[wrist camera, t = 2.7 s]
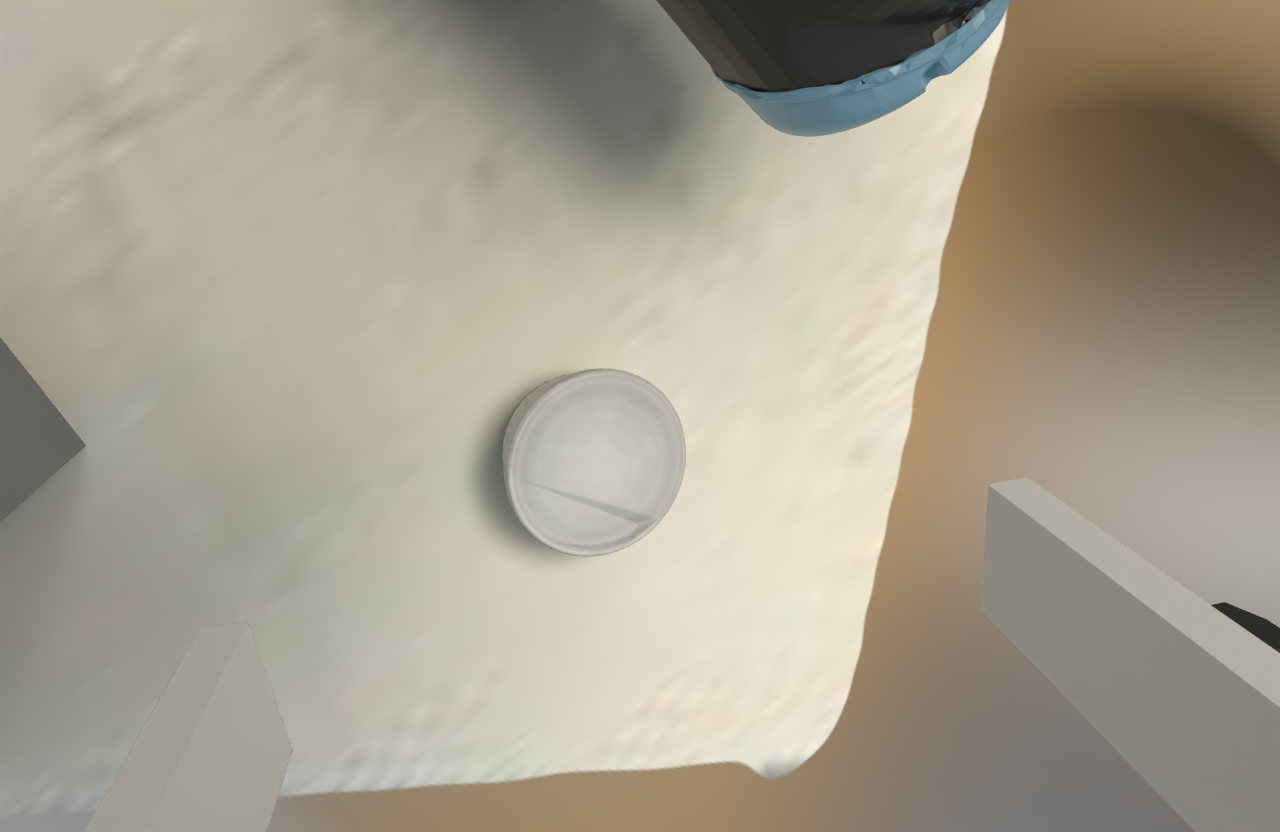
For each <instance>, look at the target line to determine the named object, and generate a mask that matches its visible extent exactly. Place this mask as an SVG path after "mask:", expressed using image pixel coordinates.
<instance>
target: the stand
mask: <svg viewBox="0 0 1280 832" xmlns="http://www.w3.org/2000/svg"><path fill="white" fill-rule="evenodd" d="M84 447H85V444H84V443H83V442H82V440H81V439H80V438H79V437H78V435H77V434H76V433H75V432H74V430H73V429H72V428H71V427H70V425H69V424H68V423H67V421H66V420H65V419H64V418H63V416H62V415H61V414H60V413H59V411H58V410H57V409H56V408H55V406H54V405H53V404H52V403H51V401H50V400H49V399H48V397H47V396H46V395H45V394H44V392H43V391H42V390H41V389H40V387H39V386H38V385H37V384H36V382H35V381H34V380H33V378H32V377H31V376H30V375H29V373H28V372H27V371H26V370H25V368H24V367H23V366H22V365H21V363H20V362H19V361H18V360H17V358H16V357H15V356H14V354H13V353H12V352H11V351H10V349H9V348H8V347H7V346H6V344H5V343H4V342H3V341H2V339H1V338H0V521H1V520H2V519H4V518H5V517H6V516H7V515H8V514H9V513H10V512H11V511H13V510H14V509H15V508H16V507H17V506H18V505H19V504H20V503H22V502H23V501H24V500H25V499H26V498H27V497H28V496H29V495H31V494H32V493H33V492H34V491H35V490H36V489H37V488H39V487H40V486H41V485H42V484H43V483H44V482H45V481H46V480H48V479H49V478H50V477H51V476H52V475H53V474H54V473H55V472H57V471H58V470H59V469H60V468H61V467H62V466H63V465H64V464H66V463H67V462H68V461H69V460H70V459H71V458H72V457H73V456H75V455H76V454H77V453H78V452H79V451H80V450H81V449H82V448H84Z"/></svg>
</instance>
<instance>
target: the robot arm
mask: <svg viewBox="0 0 1280 832" xmlns="http://www.w3.org/2000/svg"><path fill="white" fill-rule="evenodd" d="M656 1H657V2H658V3H659V4H660V5H661V7H662V8H663V9H664V10H665V11H666V13H667V14H668V15H669V16H670V17H671V19H672V20H673V21H674V22H675V23H676V25H677V26H678V27H679V28H680V29H681V31H682V32H683V33H684V34H685V35H686V37H687V38H688V39H689V40H690V41H691V43H692V44H693V45H694V46H695V47H696V49H697V50H698V51H699V52H700V53H701V55H702V56H703V57H704V58H705V59H706V61H707V62H708V63H709V64H710V65H711V68H712V70H713V72H714V74H715V76H716V77H717V78H718V80H720V81H722V82H723V84H724V85H725V87H727V88H728V89H730V90H732V91H733V92H735V93H737V94H739V96H740V97H741V98H742V99H743V100H744V101H745V102H746V103H747V104H748V105H749V106H750V107H751V108H752V109H753V110H754V111H755V112H756V113H757V114H758V115H759V116H760V118H761V119H762V120H763V121H764V122H766V123H767V124H768V125H770V126H771V127H773V128H775V129H776V130H779V131H781V132H783V133H787V134H791V135H796V136H806V137H809V136H823V135H829V134H834V133H838V132H842V131H846V130H849V129H852V128H855V127H858V126H861V125H864V124H866V123H869V122H871V121H873V120H875V119H878V118H880V117H883V116H885V115H887V114H889V113H891V112H893V111H895V110H896V109H898V108H900V107H902V106H903V105H905V104H907V103H909V102H910V101H912V100H913V99H915V98H917V97H918V96H920V95H921V94H923V93H924V92H925V90H926V85H927V84H928V83H929V82H930V81H931V79H934V78H936V77H939V76H941V75H947V74H951V73H952V72H953V71H954V70H955V69H956V68H958V67H959V66H960V65H961V64H962V63H964V62H965V61H966V60H967V59H968V58H969V57H970V56H971V55H973V54H974V52H975V51H976V50H977V49H978V48H979V47H980V46H981V45H982V44H983V43H984V42H985V41H986V39H987V38H988V37H989V36H990V35H991V33H992V32H993V31H994V30H995V28H996V27H997V26H998V24H999V23H1000V21H1001V19H1002V18H1003V15H1004V13H1005V11H1006V9H1007V7H1008V4H1009V2H1010V0H656ZM984 552H985V553H984V569H983V585H982V602H981V603H982V604H981V610H982V611H983V612H984V613H985V614H986V615H987V616H988V617H989V618H990V619H991V620H992V621H993V622H994V624H995V625H997V627H998V628H999V629H1000V630H1001V631H1002V632H1003V633H1004V634H1005V635H1006V636H1007V637H1008V638H1009V639H1010V640H1011V641H1012V642H1013V643H1014V644H1015V645H1016V646H1017V647H1018V648H1019V649H1020V650H1021V651H1022V652H1023V654H1024V655H1025V656H1027V658H1028V659H1029V660H1030V661H1031V662H1032V663H1033V664H1034V665H1035V666H1036V667H1037V668H1038V669H1039V670H1040V671H1041V672H1042V673H1043V674H1044V675H1045V676H1046V677H1047V678H1048V679H1049V680H1050V681H1051V682H1052V683H1053V685H1054V686H1055V687H1056V688H1057V689H1058V690H1059V691H1060V692H1061V693H1062V694H1063V695H1064V696H1065V697H1066V698H1067V699H1068V700H1069V701H1070V702H1071V703H1072V704H1073V705H1074V706H1075V707H1076V708H1077V709H1078V710H1079V711H1080V712H1081V713H1082V715H1084V716H1085V718H1086V719H1087V720H1088V721H1089V722H1090V723H1091V724H1092V725H1093V726H1094V727H1095V728H1096V729H1097V730H1098V731H1099V732H1100V733H1101V734H1102V735H1103V736H1104V737H1105V738H1106V739H1107V740H1108V741H1109V742H1110V743H1111V744H1112V745H1113V746H1114V747H1115V749H1116V750H1117V751H1118V752H1119V753H1120V754H1121V755H1122V756H1123V757H1124V758H1125V759H1126V760H1127V761H1128V762H1129V763H1130V764H1131V765H1132V766H1133V767H1134V768H1135V769H1136V770H1137V771H1138V772H1139V773H1140V774H1141V775H1142V777H1143V778H1144V779H1145V780H1146V781H1147V782H1148V783H1149V784H1150V785H1151V786H1152V787H1153V788H1154V789H1155V790H1156V791H1157V792H1158V793H1159V794H1160V795H1161V796H1162V797H1163V798H1164V799H1165V800H1166V801H1167V802H1168V803H1169V804H1170V805H1171V806H1172V808H1173V809H1175V811H1176V812H1177V813H1178V814H1179V815H1180V816H1181V817H1182V818H1183V819H1184V820H1185V821H1186V822H1187V823H1188V824H1189V825H1190V826H1191V827H1192V828H1193V829H1194V830H1195V831H1196V832H1280V628H1279V627H1277V626H1276V625H1274V624H1273V623H1271V622H1270V621H1268V620H1266V619H1264V618H1262V617H1259V616H1256V615H1254V614H1252V613H1249V612H1247V611H1245V610H1242V609H1239V608H1237V607H1235V606H1233V605H1230V604H1228V603H1225V602H1224V603H1219V604H1214V605H1210V604H1208V603H1207V602H1205V601H1204V600H1203V599H1201V598H1200V597H1198V596H1196V595H1195V594H1194V593H1192V592H1191V591H1190V590H1188V589H1187V588H1185V587H1184V586H1182V585H1181V584H1179V583H1178V582H1177V581H1175V580H1174V579H1172V578H1171V577H1169V576H1168V575H1167V574H1165V573H1164V572H1162V571H1161V570H1159V569H1158V568H1156V567H1155V566H1153V565H1152V564H1150V563H1149V562H1148V561H1146V560H1145V559H1143V558H1142V557H1141V556H1139V555H1138V554H1136V553H1135V552H1133V551H1132V550H1130V549H1129V548H1127V547H1126V546H1125V545H1123V544H1122V543H1120V542H1119V541H1118V540H1116V539H1115V538H1113V537H1112V536H1110V535H1109V534H1108V533H1106V532H1105V531H1103V530H1102V529H1100V528H1099V527H1097V526H1096V525H1095V524H1093V523H1092V522H1090V521H1089V520H1087V519H1086V518H1084V517H1083V516H1082V515H1080V514H1079V513H1077V512H1076V511H1074V510H1073V509H1072V508H1070V507H1069V506H1067V505H1066V504H1064V503H1063V502H1061V501H1060V500H1059V499H1057V498H1056V497H1054V496H1053V495H1051V494H1050V493H1048V492H1047V491H1046V490H1044V489H1043V488H1041V487H1040V486H1039V485H1037V484H1036V483H1034V482H1033V481H1031V480H1030V479H1028V478H1022V479H1016V480H1011V481H1005V482H1000V483H994V484H989V485H988V501H987V517H986V534H985V551H984ZM292 750H293V748H292V745H291V742H290V739H289V736H288V733H287V730H286V728H285V725H284V722H283V719H282V716H281V713H280V711H279V708H278V705H277V702H276V699H275V696H274V693H273V691H272V688H271V685H270V682H269V679H268V676H267V673H266V671H265V668H264V665H263V662H262V659H261V656H260V654H259V651H258V648H257V645H256V642H255V639H254V636H253V634H252V631H251V628H250V625H249V622H248V621H243V622H237V623H232V624H227V625H221V626H216V627H210V628H205V629H200V630H199V631H198V633H197V635H196V637H195V638H194V640H193V642H192V644H191V645H190V647H189V649H188V651H187V652H186V654H185V656H184V658H183V659H182V661H181V663H180V665H179V666H178V668H177V670H176V672H175V673H174V675H173V677H172V679H171V680H170V682H169V684H168V686H167V687H166V689H165V691H164V693H163V694H162V696H161V698H160V700H159V701H158V703H157V705H156V707H155V708H154V710H153V712H152V714H151V715H150V717H149V719H148V721H147V722H146V724H145V726H144V728H143V729H142V731H141V733H140V735H139V736H138V738H137V740H136V742H135V744H134V745H133V747H132V749H131V751H130V752H129V754H128V756H127V758H126V759H125V761H124V763H123V765H122V766H121V768H120V770H119V772H118V773H117V775H116V777H115V779H114V780H113V782H112V784H111V786H110V787H109V789H108V791H107V793H106V794H105V796H104V798H103V800H102V801H101V803H100V805H99V807H98V808H97V810H96V812H95V814H94V816H93V817H92V819H91V821H90V822H89V824H88V826H87V828H86V829H85V831H84V832H267V829H268V826H269V822H270V819H271V816H272V813H273V810H274V807H275V803H276V800H277V797H278V794H279V791H280V788H281V785H282V782H283V778H284V775H285V772H286V769H287V766H288V763H289V760H290V756H291V753H292Z"/></svg>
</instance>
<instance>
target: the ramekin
mask: <svg viewBox="0 0 1280 832" xmlns="http://www.w3.org/2000/svg"><path fill="white" fill-rule="evenodd" d="M502 454H503V467H504V483H505V489H506V494H507V497H508V500H509V503H510V505H511V507H512V509H513V511H514V513H515V515H516V517H517V518H518V520H519V521H520V523H521V524H522V525H523V526H524V528H525V529H526V530H527V531H528V532H529V533H530V534H531V535H532V536H533V537H534V538H536V539H537V540H538V541H539V542H541V543H543V544H544V545H546V546H547V547H549V548H551V549H554V550H557V551H559V552H562V553H566V554H569V555H575V556H599V555H605V554H609V553H612V552H616V551H619V550H621V549H624V548H626V547H628V546H630V545H632V544H634V543H635V542H637V541H639V540H640V539H642V538H643V537H644V536H646V535H647V534H648V533H649V532H650V531H652V530H653V529H654V528H655V527H656V526H657V524H658V523H659V522H660V521H661V520H662V519H663V517H664V516H665V515H666V513H667V512H668V511H669V509H670V507H671V505H672V504H673V502H674V500H675V498H676V496H677V494H678V491H679V488H680V486H681V483H682V479H683V474H684V470H685V462H686V447H685V438H684V433H683V428H682V425H681V422H680V420H679V417H678V415H677V413H676V411H675V409H674V407H673V406H672V404H671V403H670V401H669V400H668V399H667V398H666V396H665V395H664V394H663V392H662V391H660V390H659V389H658V388H656V387H655V386H654V385H652V384H651V383H650V382H648V381H646V380H645V379H643V378H641V377H639V376H636V375H634V374H631V373H628V372H625V371H621V370H615V369H590V370H584V371H580V372H577V373H574V374H570V375H563V376H561V377H557V378H554V379H552V380H551V381H548V382H545V383H544V384H543V385H541V386H539V387H537V388H536V389H535V390H534V391H533V392H531V393H530V394H528V396H527V397H526V398H525V399H524V400H523V401H522V402H521V403H520V405H519V406H518V408H517V409H516V410H515V411H514V414H513V416H512V418H511V419H510V421H509V424H508V427H507V429H506V432H505V437H504V440H503V450H502Z"/></svg>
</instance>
